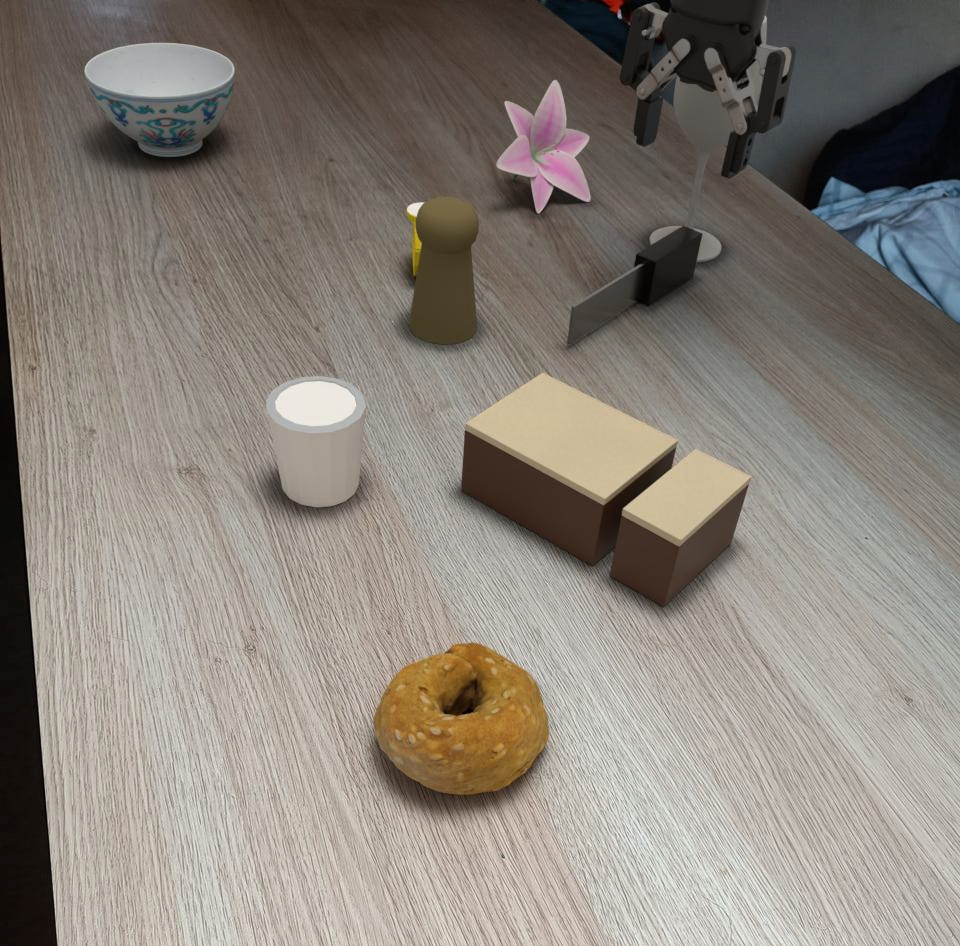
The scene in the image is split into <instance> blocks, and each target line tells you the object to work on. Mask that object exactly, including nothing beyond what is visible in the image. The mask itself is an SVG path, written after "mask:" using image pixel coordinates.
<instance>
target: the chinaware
mask: <svg viewBox="0 0 960 946" xmlns="http://www.w3.org/2000/svg"><path fill="white" fill-rule="evenodd" d="M235 70H236V69H235V66H234V64H233V62H232V61H231V60H230V59H229V58H228V57H226V56H225V55H223V54H221V53H220V52H217V51H215V50H212V49H209V48H206V47H202V46H197V45H193V44H185V43H174V42H148V43H147V42H146V43H145V42H144V43H136V44H128V45H123V46H118V47H115V48H112V49H109V50H105V51H103V52H100V53H99V54H97V55H95V56H94V57H92V58H91V59H89V61H88V62H86V65H85V67H84V76H85V79H86V81H87V84H88V87H89V89H90V91H91V93H92V97H93V98H94V100H95V101H96V104H97V105H98V107H99V108H100V110H101V111H102V113H103V114H104V115H105V117H106V118H107V119H108V120H109V121H110V122H111V124H113V125H114V127H116V128H117V129H118V130H119V131H121V132H122V133H123V134H124V135H126V136H127V137H128V138H131V140H134V141H136V142H137V144H138V147H139V148H140V150H142V152H144V153H146V154H149V155H151V156H156V157H162V158H178V157H185V156H188V155H191V154H193V153H196V152H197V151H199V150H200V149H201V148H202V146H203V139H205V138H206V137H207V136H208V135H210V134H211V133H212V132H213V131H214V130H215V129H216V128H217V127H218V125H219V124H220V123H221V121H223V118H224V117H225V115H226V112H227V110H228V108H229V105H230V103H231V99H232V96H233V91H234V84H235V74H236V73H235V72H236V71H235Z"/></svg>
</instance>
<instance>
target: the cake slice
mask: <svg viewBox="0 0 960 946" xmlns="http://www.w3.org/2000/svg"><path fill="white" fill-rule="evenodd" d="M751 480H752V476H751V475H749V474H747V473H745V472H743V471H741V470H739V469H737V468H735V467H733V466H731V465H729V464H727V463H725V462H723V461H721V460H719V459H717V458H715V457H713V456H712V455H709V454H707V453H705V452H703V451H701V450H700V449H697V448H695V449H694V450H692V451H691V452H690V453H688V454H687V455H686V456H685V457H683V458H682V459H681V460H680V461H679V462H678V463H676V464H675V465H673V466H672V468H671V469H670V470H669V471H668V472H667V473H666V474H664V475H663V476H662V477H661V478H659V479H658V480H657V481H656V482H655V483H653V484H652V485H651V486H650V487H649V488H647V489H646V490H645V491H644V492H642V493H641V494H640V495H639V496H638V497H636V498H635V499H634V500H633V501H632V502H630V503H629V504H628V505H627V506H625V507H624V508H623V511H622V517H621V522H620V527H619V532H618V537H617V542H616V546H615V547H614V551H613V557H612V563H611V567H610V571H609V576H610V577H611V578H613V579H614V580H616V581H618V582H620V583H621V584H623V585H624V586H627V587H628V588H630V589H632V590H634V591H636V592H637V593H639V594H641V595H642V596H644V597H645V598H647V599H650V600H651V601H652V602H655V603H656V604H658V605H659V606H661V607H665V606H666V605H668V604H669V603H670V602H671V600H673V599H674V598H675V597H676V596H677V595H678V594H679V593H680V592H681V591H682V590H684V588H685V587H686V586H687V585H689V584H690V582H692V581H693V580H695V578H696V577H697V576H698V575H699V574H700V573H701V572H702V571H704V570H705V569H706V568H707V566H709V565H710V564H711V563H712V562H713V561H714V560H715V559H716V558H717V557H718V556H719V555H720V554H721V553H722V552H723V551H724V550H726V549H727V548H728V547H729V546H730V545H731V544H732V543H733V539H734V535H735V532H736V529H737V526H738V522H739V519H740V515H741V512H742V509H743V507H744V506H743V505H744V502H745V499H746V495H747V492H748V490H749V485H750V483H751Z"/></svg>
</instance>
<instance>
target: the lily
mask: <svg viewBox="0 0 960 946" xmlns="http://www.w3.org/2000/svg"><path fill="white" fill-rule="evenodd" d="M563 95H564V94H563V91H562V88H561V85H560V82H558V80H557V79H554V80H552V81H551V83H550V84H549V86H548V88H547V89H546V91H545V94H544V96H543V98H542V99H541V101H540V103H539V105H538V107H537V109H536V111H535V112H534V115H533V114H532V113H531V112H530V111H528V110H527V109H525V108H524V107H522V106H520V105H519V104H516V103H515V102H512V101H509V100H505V101H504V106H505V109H506V112H507V115H508V117H509V119H510V122H511V124H512V126H513V129H514V131H515V133H516V136H517V137H516V138H515V139H514V141H512V143H511V144H510V145H509V146H508V147H507V148H506V149H505V150H504V151H503V153H501V155H500V157H498V160H497V161H496V166H495V167H497V169H498V170H501V171H504V172H507V173H510V174H514V176H512V178H511V180H512V181H513V182H515V180H516V179H517V177H518V176H524V177H528V178H529V179H530V180H529V181H530V186H531V192H532V198H533V202H534V203H533V204H534V208H535V212H536V213H537V214H540V213H541V212H542V211H543V210H544V209H545V207H546V205H547V204H548V202H549V200H550V197H551V195H552V193H553V190H554V187H556V188H558V189H560V190H562V191H564V192H565V193H568V194H570V195H571V196H573V197H575V198H577V199H579V200H581V201H583V202H586V203H589V202H591V199H592V196H591V193H590V187H589V185H588V181H587V178H586V176H585V174H584V171H583V168H582V167H581V165H580V163H579V162H578V160H577V159H576V156H578V155H579V154H580V153H581V152H582V150H584V149H585V147H586V146H587V144H588V143H589V141H590V135H589V134H588V133H586V132H583V131H580V130H577V129H573V128H567V122H568V121H567V111H566V104H565V98H564V96H563Z"/></svg>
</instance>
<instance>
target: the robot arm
mask: <svg viewBox="0 0 960 946" xmlns="http://www.w3.org/2000/svg"><path fill="white" fill-rule="evenodd" d="M769 3H770V0H670V9H669V11H668V12H666V11H663V10H661V6H660V4H658V2H654V1H653V2H651V3H647V4H644V5H642V6H640V7H637V8H635V9H634V10H633V11H632V14H631V19H630V23H629V27H628V28H629V29H628V33H627V39H626V43H625V47H624V53H623V58H622V63H621V68H620V73H619V81H620V83H621V85H623V86H625V87H627V86H629V87H630V88H631V89H632V90H634V92H635V94H636V96H637V103H636V111H635V116H634V123H633V136H634V137H636V140H635V143H636V145H638V146H640V147H643V148H645V147H647V146H649V145H651V144H653V143H655V141H656V139H657V136H658V131H659V125H660V121H661V113H662V108H663V102H664V97H663V96H661V95H660V94H661V92H662V91H663V90H664V89H665V88H666V87H667V86H668V85H670V83H672V82H673V80H674V79H675V78H677V76H678V77H679V78H680V82H683V83H686V84H697V85H698V86H700V87H701V88H702V89H704V90H706V91H709V92H714V91H717V92H718V95H719V98H720V101H721V104H722V106H723V107H724V108H726V109H727V111H728V114H729V117H730V120H731V123H732V126H733V129H734V131H732V132H730V136H729V140H728V143H727V144H726V150H725V154H724V159H723V164H722V167H721V171H720V175H721V177H723V178H726V179H729V180H730V179H732V178H734V177H735V176H737V175H739V174H740V172H742V171H744V170H745V169H746V168H747V167H748V165H749V162H750V158H751V154H752V150H753V145H754V142H755V137H756V134H757V133H758V134H765V133H767V132H769V131H770V130H772V129H774V128H776V127H777V126H779V125H781V124H782V122H783V120H784V114H785V111H786V107H787V101H788V97H789V91H790V87H791V80H792V78H793V77H792V76H793V72H794V71H793V70H794V66H795V62H796V57H797V50H796V48H795V46H794V45H792V44H786V45H784V46H782V47H779V46H774V45H769V44H767V43H766V44H763V43H762V38H761V27H762V23H763V20H764V18H765V16H767V15H766V14H767V10H768V6H769ZM661 33H662V37H663V40H664V43H665V46H666V49H667V53H666V54H665V55H664V57H662V59H660V61H659V62H658V63H656V65H655V66H654V67H653V68H652V69H651V70H650V72H649V67H650V62H651V58H652V53H653V49H654V45H655V41H656V38H657V37H659V35H660V34H661ZM756 60H757V61H758V62H759V65H760V72H759V73H760V75H761V76H762V84H761V91H760V95H759V99H758V103H756V99H755V91H756V90H755V86H754V82H753V79H752V76H751V73H750V70H749V67H750V66H751V65H752V64H753V63H754V62H755V61H756ZM734 82H736V86H737V90H736V89H735V88H734V85H733V83H734Z"/></svg>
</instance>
